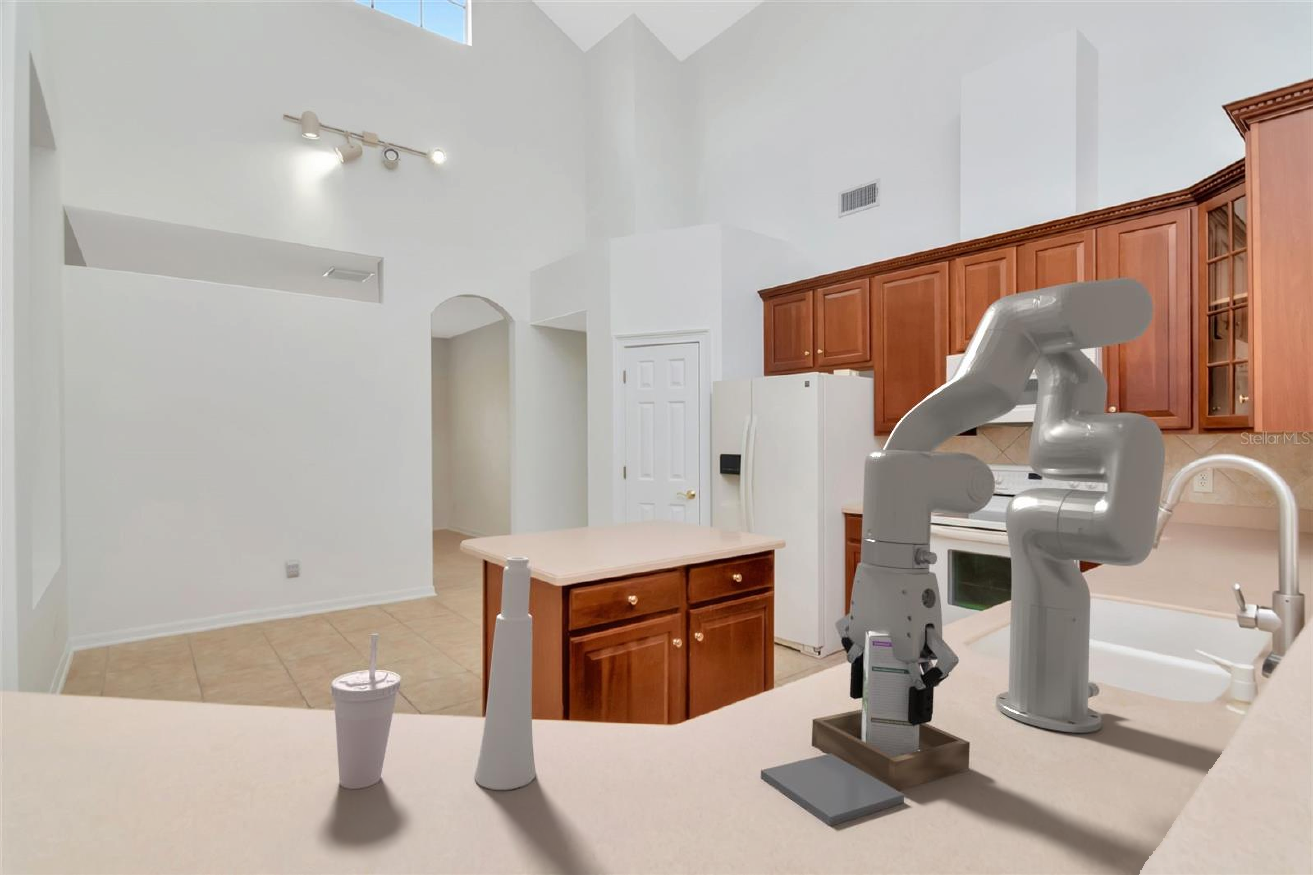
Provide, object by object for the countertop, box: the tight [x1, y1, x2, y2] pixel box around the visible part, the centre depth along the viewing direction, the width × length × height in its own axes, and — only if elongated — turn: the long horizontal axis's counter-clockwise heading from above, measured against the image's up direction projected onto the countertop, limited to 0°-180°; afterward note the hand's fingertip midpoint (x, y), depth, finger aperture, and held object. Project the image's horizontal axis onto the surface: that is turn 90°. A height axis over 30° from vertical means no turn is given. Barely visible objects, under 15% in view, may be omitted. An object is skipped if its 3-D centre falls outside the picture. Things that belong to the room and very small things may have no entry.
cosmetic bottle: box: [474, 556, 537, 791], centre depth 67 cm, size 6×6×22 cm
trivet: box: [760, 753, 905, 827], centre depth 67 cm, size 10×10×1 cm
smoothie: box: [329, 633, 402, 790], centre depth 65 cm, size 6×6×14 cm
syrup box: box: [860, 631, 921, 757], centre depth 76 cm, size 6×6×14 cm
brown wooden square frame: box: [811, 708, 971, 792], centre depth 76 cm, size 12×12×3 cm
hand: (889, 708), depth 76 cm, fingers closed on syrup box, 7 cm apart
